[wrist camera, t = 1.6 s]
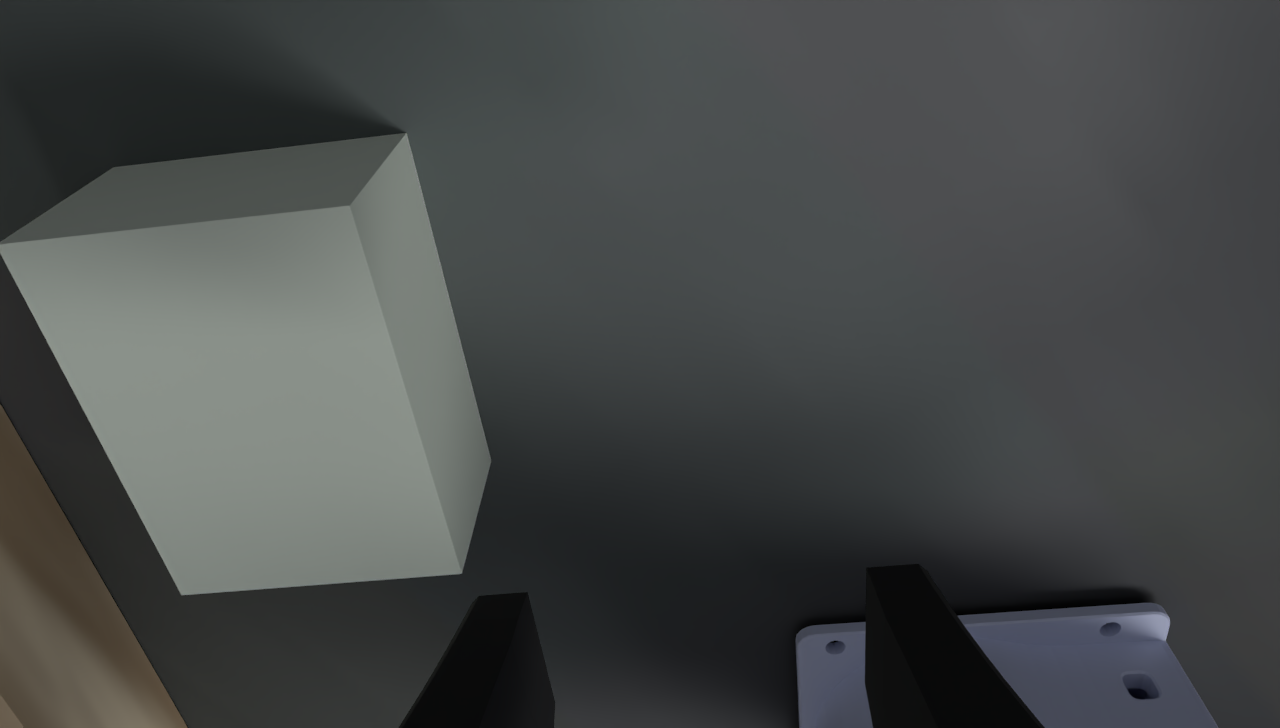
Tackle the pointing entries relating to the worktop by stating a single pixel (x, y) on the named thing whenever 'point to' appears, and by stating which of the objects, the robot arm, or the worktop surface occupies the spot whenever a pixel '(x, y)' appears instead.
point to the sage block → (267, 361)
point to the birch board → (62, 619)
